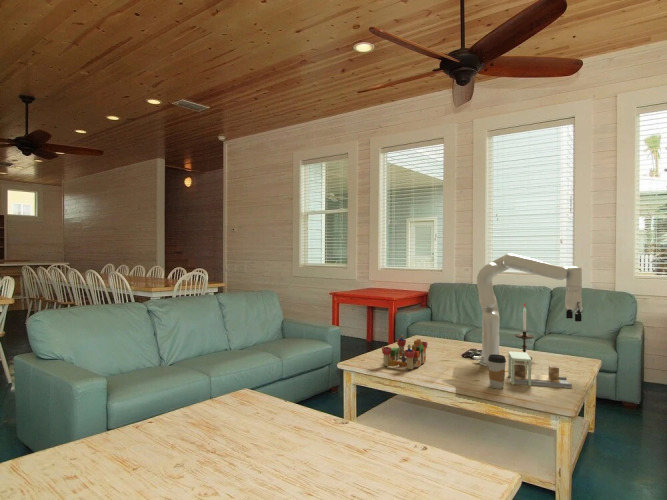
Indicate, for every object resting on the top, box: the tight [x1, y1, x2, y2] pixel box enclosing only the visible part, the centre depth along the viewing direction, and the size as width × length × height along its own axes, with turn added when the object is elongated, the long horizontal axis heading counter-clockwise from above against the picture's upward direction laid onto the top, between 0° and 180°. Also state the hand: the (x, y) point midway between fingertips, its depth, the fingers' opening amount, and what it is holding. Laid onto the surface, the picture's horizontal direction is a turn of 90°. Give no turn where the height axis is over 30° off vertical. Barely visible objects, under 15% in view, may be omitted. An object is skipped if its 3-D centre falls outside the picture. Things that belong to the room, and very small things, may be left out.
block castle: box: [381, 334, 428, 370], centre depth 257 cm, size 30×20×14 cm
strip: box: [515, 364, 560, 383], centre depth 219 cm, size 20×10×7 cm, turn 74°
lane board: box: [514, 376, 573, 389], centre depth 218 cm, size 26×12×2 cm, turn 74°
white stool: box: [507, 351, 532, 387], centre depth 221 cm, size 9×15×13 cm, turn 164°
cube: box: [514, 363, 525, 377], centre depth 221 cm, size 5×5×5 cm
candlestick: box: [514, 302, 535, 361], centre depth 265 cm, size 11×11×35 cm
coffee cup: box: [488, 354, 507, 389], centre depth 212 cm, size 8×8×15 cm
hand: (573, 319), depth 237 cm, fingers open, 9 cm apart
